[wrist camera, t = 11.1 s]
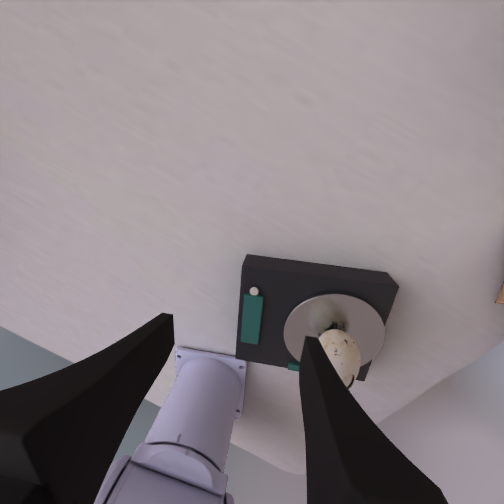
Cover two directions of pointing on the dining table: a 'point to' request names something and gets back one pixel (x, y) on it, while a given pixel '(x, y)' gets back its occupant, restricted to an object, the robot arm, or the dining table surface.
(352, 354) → the egg
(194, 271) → the dining table surface
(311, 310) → the scale pan
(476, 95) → the dining table surface
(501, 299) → the flower patterned turtle figurine
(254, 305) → the scale
